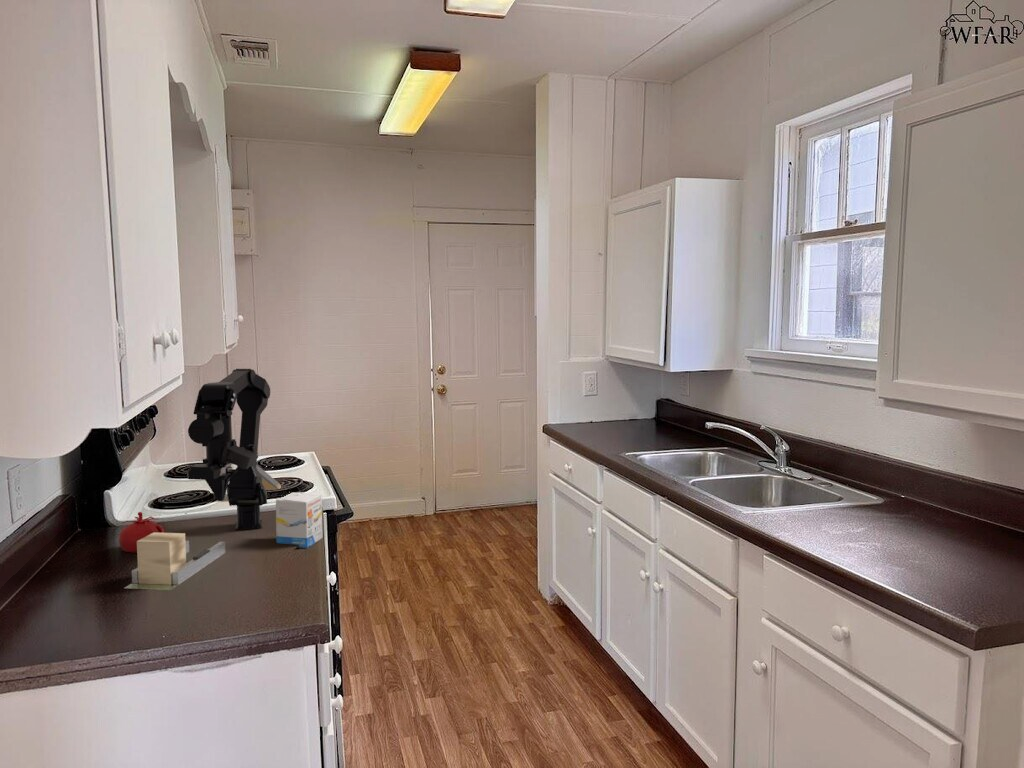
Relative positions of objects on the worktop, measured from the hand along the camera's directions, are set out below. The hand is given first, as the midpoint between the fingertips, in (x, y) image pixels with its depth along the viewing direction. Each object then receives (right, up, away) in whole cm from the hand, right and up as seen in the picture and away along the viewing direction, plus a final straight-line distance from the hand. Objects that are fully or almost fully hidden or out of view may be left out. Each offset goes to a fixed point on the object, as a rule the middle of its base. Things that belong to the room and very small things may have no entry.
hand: (220, 500), depth 167 cm
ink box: (+17, -12, +8) cm, 22 cm away
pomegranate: (-19, -12, 0) cm, 23 cm away
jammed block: (-4, -13, -20) cm, 24 cm away
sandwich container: (-8, -8, +52) cm, 53 cm away
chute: (-3, -13, -13) cm, 19 cm away
